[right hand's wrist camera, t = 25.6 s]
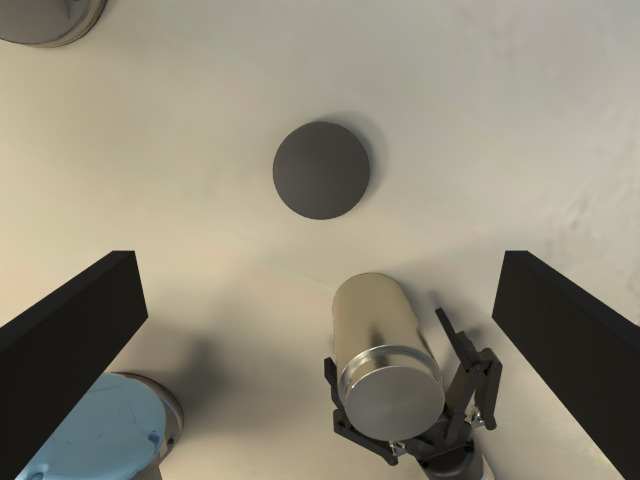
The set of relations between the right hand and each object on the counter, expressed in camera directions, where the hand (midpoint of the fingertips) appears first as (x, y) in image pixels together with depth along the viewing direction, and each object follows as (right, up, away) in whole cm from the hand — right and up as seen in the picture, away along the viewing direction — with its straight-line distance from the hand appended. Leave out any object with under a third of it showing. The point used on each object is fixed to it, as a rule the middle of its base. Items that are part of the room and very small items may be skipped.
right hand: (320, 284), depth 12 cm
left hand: (+7, -9, +25) cm, 27 cm away
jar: (+6, -7, +31) cm, 32 cm away
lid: (0, +8, +23) cm, 24 cm away
